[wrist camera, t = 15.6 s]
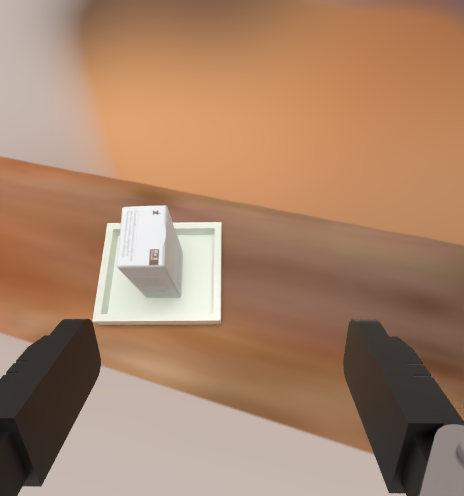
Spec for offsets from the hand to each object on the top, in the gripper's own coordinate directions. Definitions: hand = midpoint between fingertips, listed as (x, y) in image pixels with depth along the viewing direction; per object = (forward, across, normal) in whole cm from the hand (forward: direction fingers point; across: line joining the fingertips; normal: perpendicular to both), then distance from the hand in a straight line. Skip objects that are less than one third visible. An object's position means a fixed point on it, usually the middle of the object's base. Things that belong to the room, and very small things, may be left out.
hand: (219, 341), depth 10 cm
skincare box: (+27, +8, +12) cm, 31 cm away
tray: (+27, +9, +12) cm, 31 cm away
